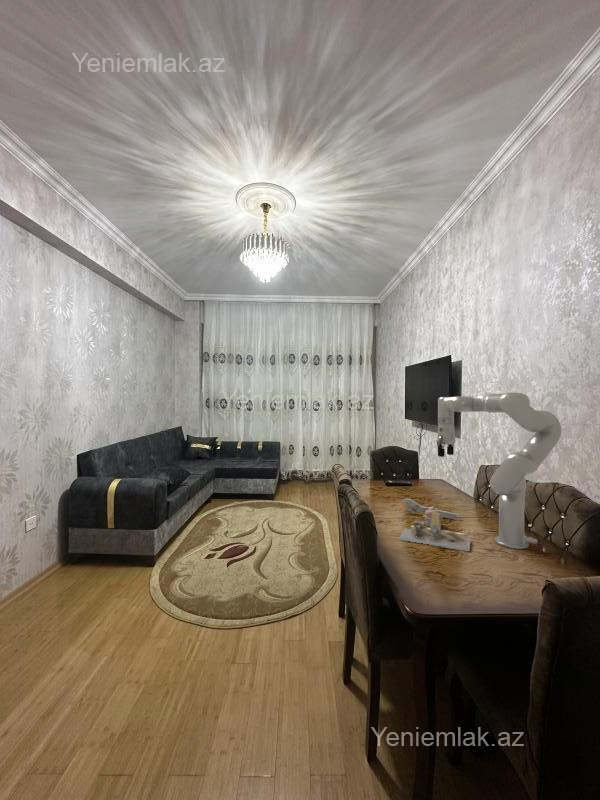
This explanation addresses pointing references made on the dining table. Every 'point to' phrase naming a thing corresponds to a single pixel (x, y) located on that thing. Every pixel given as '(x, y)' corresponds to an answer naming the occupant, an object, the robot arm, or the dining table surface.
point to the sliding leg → (435, 523)
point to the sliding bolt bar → (421, 529)
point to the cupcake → (429, 516)
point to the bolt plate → (435, 540)
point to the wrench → (418, 508)
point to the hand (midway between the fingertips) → (445, 455)
